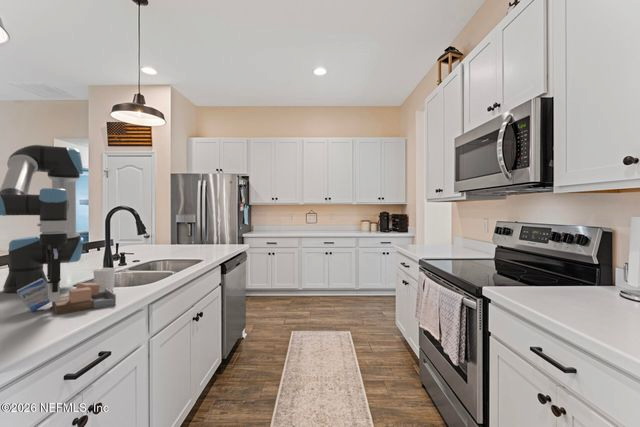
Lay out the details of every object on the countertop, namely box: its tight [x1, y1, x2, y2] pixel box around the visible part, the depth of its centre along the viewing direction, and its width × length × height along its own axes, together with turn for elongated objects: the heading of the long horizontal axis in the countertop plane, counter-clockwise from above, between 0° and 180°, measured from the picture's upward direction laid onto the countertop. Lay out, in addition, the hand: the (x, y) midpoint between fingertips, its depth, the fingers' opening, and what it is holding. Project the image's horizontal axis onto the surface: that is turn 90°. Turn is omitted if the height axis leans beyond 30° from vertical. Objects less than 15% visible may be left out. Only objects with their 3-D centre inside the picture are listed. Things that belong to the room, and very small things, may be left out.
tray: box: [91, 288, 117, 309], centre depth 129 cm, size 14×7×4 cm, turn 44°
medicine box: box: [16, 278, 51, 312], centre depth 119 cm, size 8×4×9 cm, turn 133°
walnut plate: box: [51, 295, 93, 315], centre depth 123 cm, size 14×10×3 cm
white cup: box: [93, 267, 116, 293], centre depth 145 cm, size 8×8×10 cm
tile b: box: [68, 287, 91, 303], centre depth 121 cm, size 4×6×4 cm
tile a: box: [75, 282, 100, 295], centre depth 130 cm, size 4×6×4 cm
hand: (53, 299), depth 116 cm, fingers open, 4 cm apart
